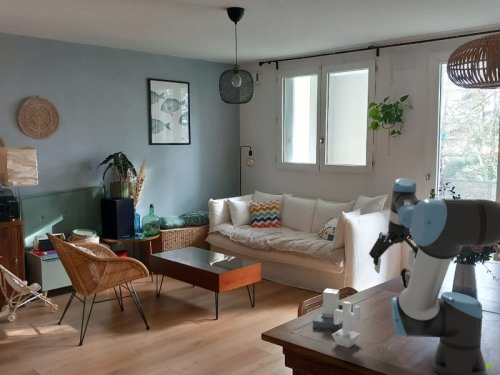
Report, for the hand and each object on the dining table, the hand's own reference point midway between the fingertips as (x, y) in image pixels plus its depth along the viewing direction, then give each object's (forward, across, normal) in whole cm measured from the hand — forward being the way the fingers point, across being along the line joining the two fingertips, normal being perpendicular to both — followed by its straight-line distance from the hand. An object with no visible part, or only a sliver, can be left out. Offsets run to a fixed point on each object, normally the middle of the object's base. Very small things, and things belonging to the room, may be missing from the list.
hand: (393, 268), depth 186 cm
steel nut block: (+21, +25, +1) cm, 32 cm away
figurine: (+14, +26, +19) cm, 35 cm away
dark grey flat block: (+22, +22, -2) cm, 31 cm away
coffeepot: (+29, -15, -6) cm, 33 cm away
